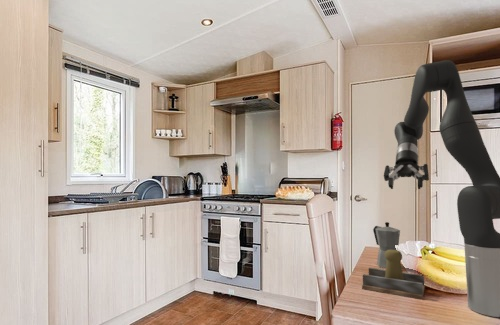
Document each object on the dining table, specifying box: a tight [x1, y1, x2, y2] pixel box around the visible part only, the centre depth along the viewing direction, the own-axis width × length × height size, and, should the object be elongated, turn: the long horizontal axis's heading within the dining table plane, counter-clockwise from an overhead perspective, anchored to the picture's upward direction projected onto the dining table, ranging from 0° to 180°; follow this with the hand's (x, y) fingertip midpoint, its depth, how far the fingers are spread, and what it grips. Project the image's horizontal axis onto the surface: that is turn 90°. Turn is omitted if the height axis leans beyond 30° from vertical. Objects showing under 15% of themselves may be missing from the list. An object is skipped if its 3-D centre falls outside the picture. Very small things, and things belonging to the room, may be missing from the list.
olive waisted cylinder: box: [385, 249, 404, 280], centre depth 98 cm, size 6×6×11 cm
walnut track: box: [361, 267, 426, 300], centre depth 98 cm, size 17×13×4 cm
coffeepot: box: [372, 221, 401, 269], centre depth 124 cm, size 15×9×18 cm, turn 13°
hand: (404, 187), depth 103 cm, fingers open, 8 cm apart
